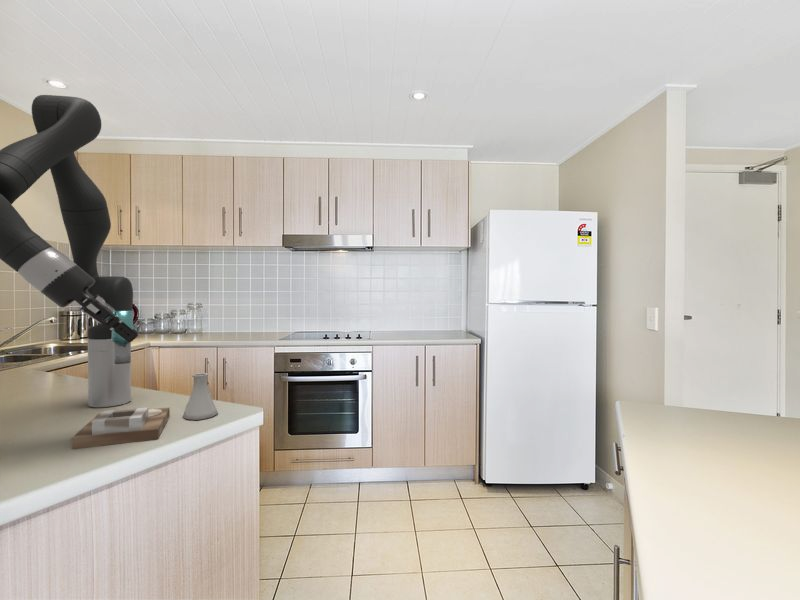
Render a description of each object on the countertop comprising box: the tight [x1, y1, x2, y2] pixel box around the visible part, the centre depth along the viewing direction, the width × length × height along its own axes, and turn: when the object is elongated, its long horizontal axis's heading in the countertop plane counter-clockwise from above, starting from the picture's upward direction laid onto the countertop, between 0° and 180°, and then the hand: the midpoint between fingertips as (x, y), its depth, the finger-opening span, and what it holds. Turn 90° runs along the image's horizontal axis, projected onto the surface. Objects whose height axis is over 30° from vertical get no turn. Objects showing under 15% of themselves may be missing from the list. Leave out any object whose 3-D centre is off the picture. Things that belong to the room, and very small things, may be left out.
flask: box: [182, 372, 219, 421], centre depth 99 cm, size 7×7×10 cm
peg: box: [112, 310, 134, 364], centre depth 85 cm, size 4×4×10 cm
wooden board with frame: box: [71, 406, 171, 450], centre depth 88 cm, size 17×14×4 cm
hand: (134, 337), depth 86 cm, fingers closed on peg, 3 cm apart
